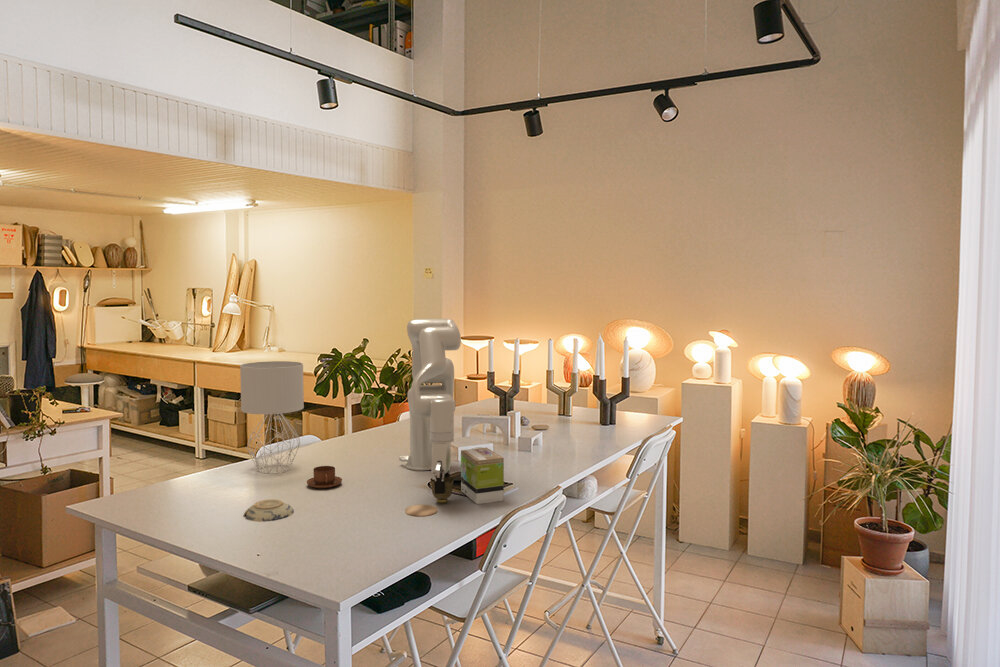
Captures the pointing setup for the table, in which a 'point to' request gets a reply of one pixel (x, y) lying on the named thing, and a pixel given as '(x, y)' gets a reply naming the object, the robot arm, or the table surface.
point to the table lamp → (272, 397)
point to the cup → (448, 490)
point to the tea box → (482, 475)
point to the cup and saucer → (324, 477)
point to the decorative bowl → (268, 511)
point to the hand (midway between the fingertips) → (442, 489)
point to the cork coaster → (421, 510)
